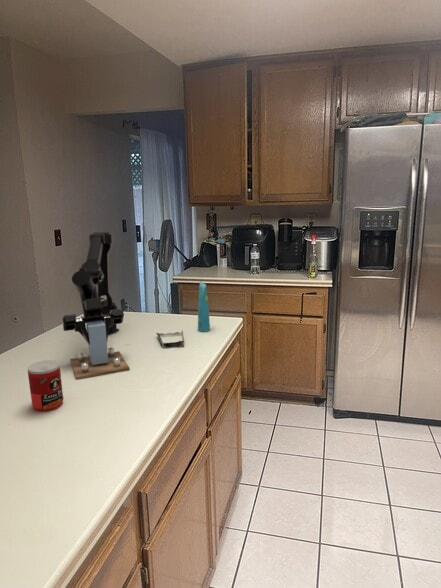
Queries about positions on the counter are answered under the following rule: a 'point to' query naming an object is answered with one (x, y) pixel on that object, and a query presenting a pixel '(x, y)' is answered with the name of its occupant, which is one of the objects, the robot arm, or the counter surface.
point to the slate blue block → (97, 342)
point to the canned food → (45, 385)
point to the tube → (203, 309)
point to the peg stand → (98, 365)
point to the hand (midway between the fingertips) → (97, 342)
